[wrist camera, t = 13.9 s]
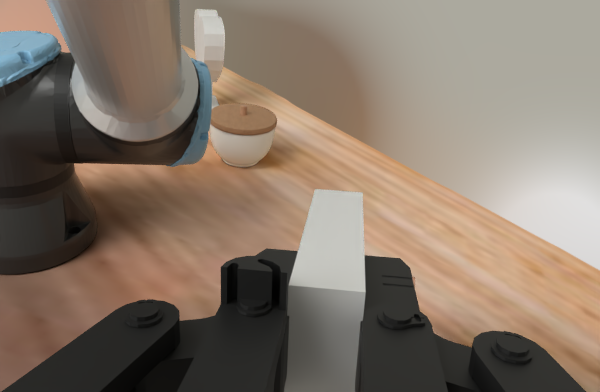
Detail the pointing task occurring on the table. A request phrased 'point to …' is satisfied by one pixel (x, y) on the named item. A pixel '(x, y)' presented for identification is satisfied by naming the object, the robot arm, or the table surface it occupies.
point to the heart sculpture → (210, 43)
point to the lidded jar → (242, 133)
